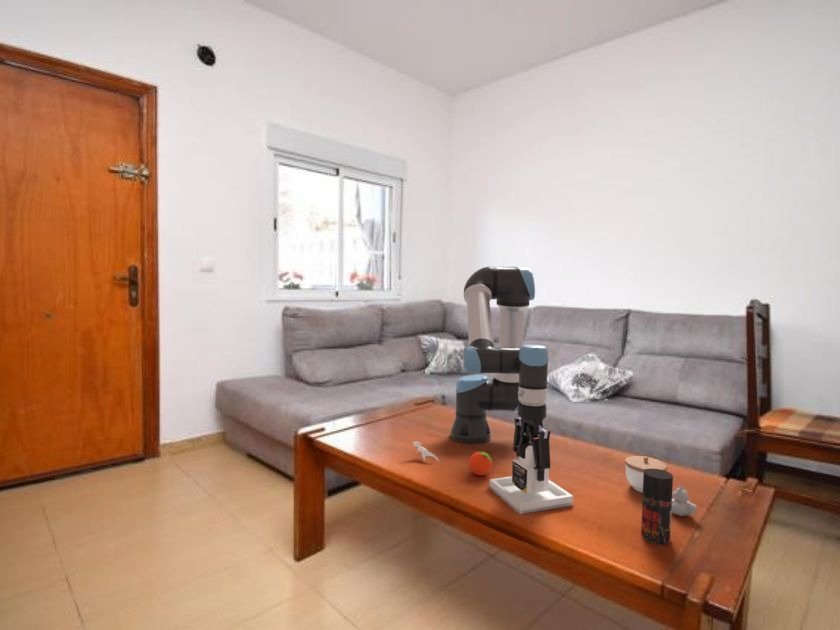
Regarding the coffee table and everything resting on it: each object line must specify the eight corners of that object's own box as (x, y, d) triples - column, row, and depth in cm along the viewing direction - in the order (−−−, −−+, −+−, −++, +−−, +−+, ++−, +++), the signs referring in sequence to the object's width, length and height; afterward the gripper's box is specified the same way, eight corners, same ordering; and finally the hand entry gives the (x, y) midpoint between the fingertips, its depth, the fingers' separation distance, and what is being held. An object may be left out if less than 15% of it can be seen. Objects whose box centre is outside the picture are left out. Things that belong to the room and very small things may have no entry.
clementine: (499, 475, 140) (499, 452, 139) (485, 482, 135) (485, 458, 134) (478, 468, 145) (478, 445, 145) (464, 474, 140) (464, 451, 140)
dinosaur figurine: (451, 469, 151) (455, 450, 151) (427, 476, 142) (430, 455, 142) (419, 453, 161) (422, 435, 161) (394, 458, 152) (397, 439, 152)
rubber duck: (673, 507, 120) (675, 477, 120) (701, 517, 115) (702, 486, 115) (663, 513, 117) (665, 482, 117) (691, 524, 112) (692, 492, 111)
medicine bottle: (511, 484, 128) (512, 441, 127) (533, 480, 130) (534, 438, 130) (526, 495, 121) (527, 450, 120) (548, 491, 124) (550, 447, 123)
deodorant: (638, 529, 109) (641, 467, 108) (666, 533, 108) (669, 470, 107) (643, 542, 104) (646, 476, 103) (672, 546, 102) (675, 480, 101)
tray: (489, 487, 131) (489, 479, 131) (538, 480, 136) (538, 472, 136) (519, 514, 116) (519, 504, 116) (572, 505, 121) (573, 495, 121)
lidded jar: (649, 480, 138) (650, 449, 137) (674, 496, 127) (676, 463, 126) (616, 482, 136) (617, 451, 135) (639, 499, 125) (641, 465, 125)
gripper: (501, 395, 133) (499, 472, 134) (541, 413, 114) (539, 503, 115) (524, 393, 135) (522, 469, 136) (567, 411, 116) (564, 499, 117)
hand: (529, 485), depth 126 cm, fingers closed on medicine bottle, 7 cm apart
